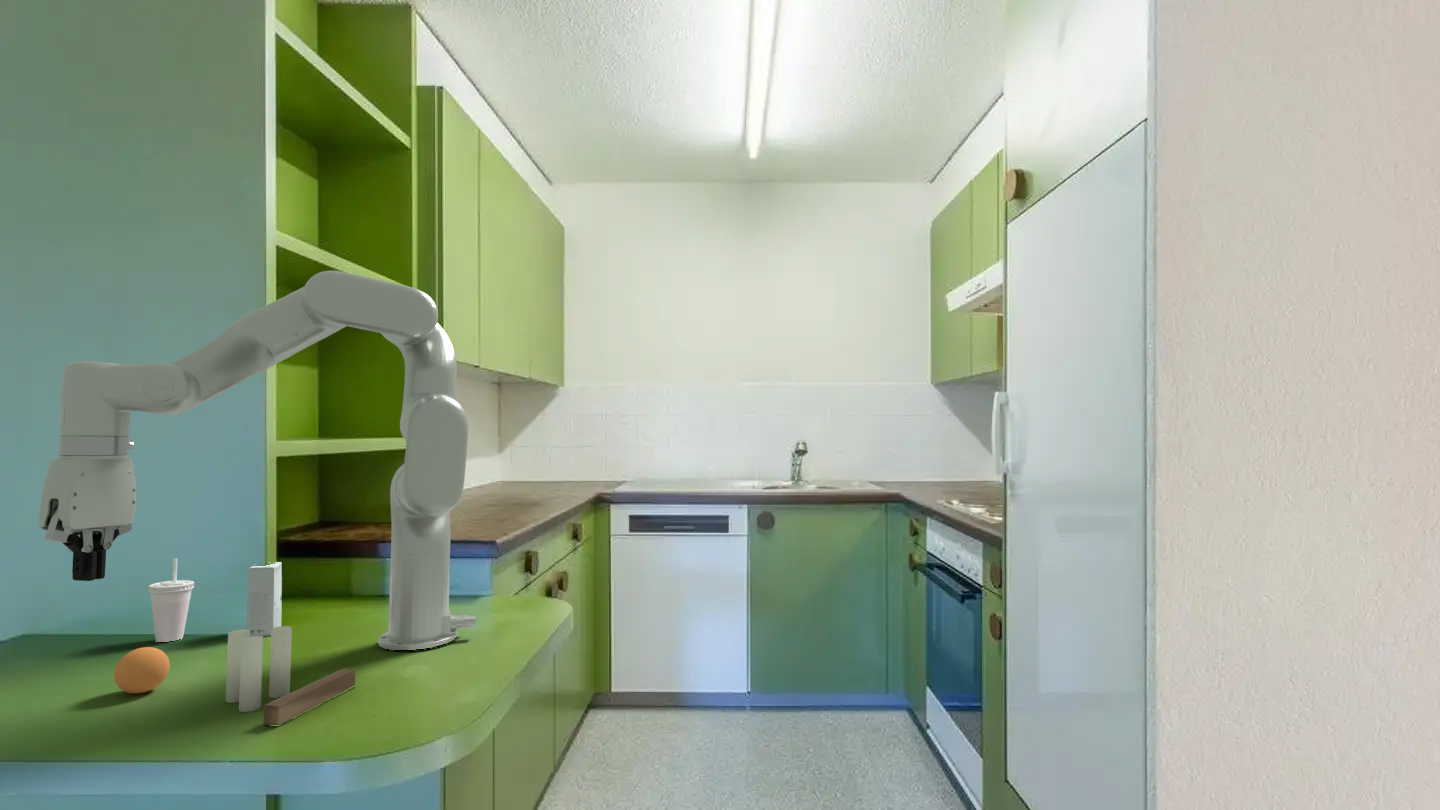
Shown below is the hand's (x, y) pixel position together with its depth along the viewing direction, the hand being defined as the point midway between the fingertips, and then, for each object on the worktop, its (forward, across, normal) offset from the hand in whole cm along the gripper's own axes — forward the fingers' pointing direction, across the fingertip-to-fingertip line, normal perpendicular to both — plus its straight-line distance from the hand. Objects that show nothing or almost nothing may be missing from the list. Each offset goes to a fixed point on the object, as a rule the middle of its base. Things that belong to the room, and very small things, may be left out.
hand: (88, 578), depth 101 cm
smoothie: (+15, -22, -10) cm, 29 cm away
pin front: (+15, 0, +24) cm, 29 cm away
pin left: (+15, +2, +29) cm, 33 cm away
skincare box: (+15, -30, +2) cm, 33 cm away
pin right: (+15, -2, +29) cm, 33 cm away
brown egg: (+12, 0, +10) cm, 15 cm away
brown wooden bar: (+15, 0, +36) cm, 39 cm away
